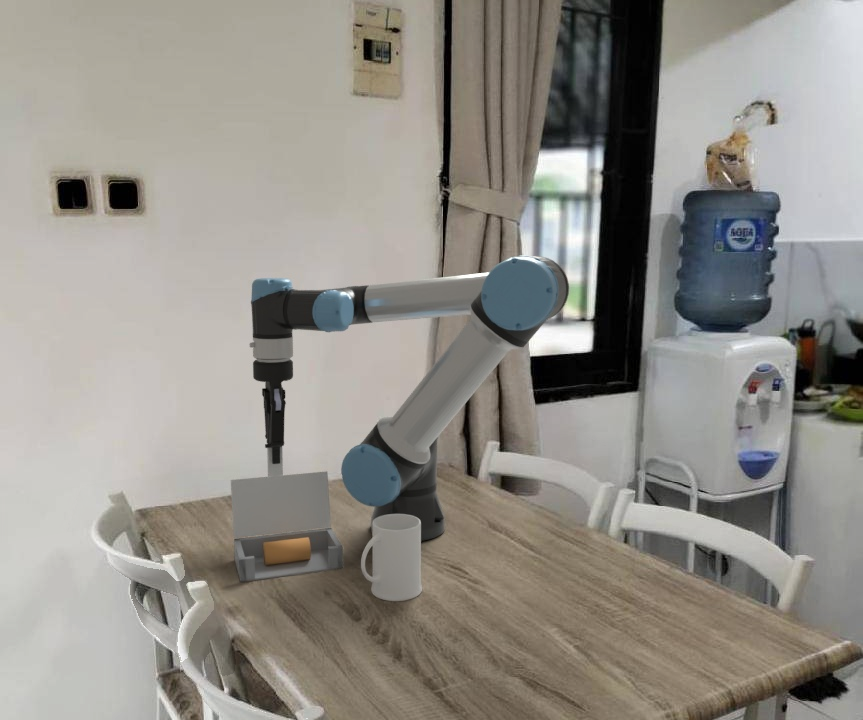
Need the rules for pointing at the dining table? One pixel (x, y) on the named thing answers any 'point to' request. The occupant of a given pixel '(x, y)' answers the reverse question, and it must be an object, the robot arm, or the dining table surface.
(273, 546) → the tan foam roller
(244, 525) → the lid
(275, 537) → the shallow grey tray
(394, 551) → the mug
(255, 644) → the dining table surface
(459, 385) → the robot arm
